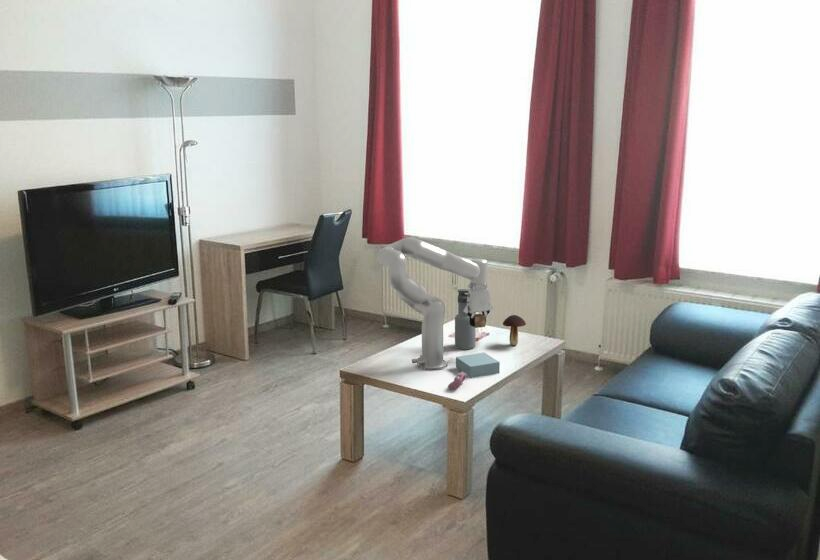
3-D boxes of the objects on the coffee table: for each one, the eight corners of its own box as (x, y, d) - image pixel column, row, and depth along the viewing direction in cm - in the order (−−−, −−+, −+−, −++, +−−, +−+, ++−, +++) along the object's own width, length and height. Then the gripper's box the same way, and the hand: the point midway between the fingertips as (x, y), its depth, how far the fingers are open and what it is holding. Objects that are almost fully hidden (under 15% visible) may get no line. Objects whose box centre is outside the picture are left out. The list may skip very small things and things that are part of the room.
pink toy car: (456, 394, 300) (463, 380, 298) (446, 388, 301) (453, 374, 299) (463, 385, 309) (470, 372, 307) (454, 380, 310) (461, 366, 308)
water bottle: (476, 343, 358) (477, 287, 351) (475, 350, 348) (475, 292, 342) (455, 343, 359) (455, 287, 353) (454, 349, 350) (453, 292, 344)
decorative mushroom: (498, 346, 353) (499, 316, 350) (508, 340, 362) (509, 310, 359) (519, 350, 348) (520, 319, 344) (529, 343, 356) (530, 313, 353)
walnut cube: (475, 327, 333) (475, 317, 332) (470, 325, 338) (470, 314, 337) (485, 326, 335) (485, 316, 334) (480, 323, 340) (480, 313, 339)
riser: (470, 377, 313) (470, 366, 312) (455, 367, 326) (455, 356, 325) (499, 372, 319) (499, 362, 318) (483, 362, 331) (484, 352, 330)
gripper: (465, 289, 326) (464, 329, 330) (499, 286, 332) (498, 325, 336) (457, 286, 333) (457, 325, 337) (491, 282, 339) (490, 321, 343)
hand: (477, 324), depth 336 cm, fingers closed on walnut cube, 4 cm apart
